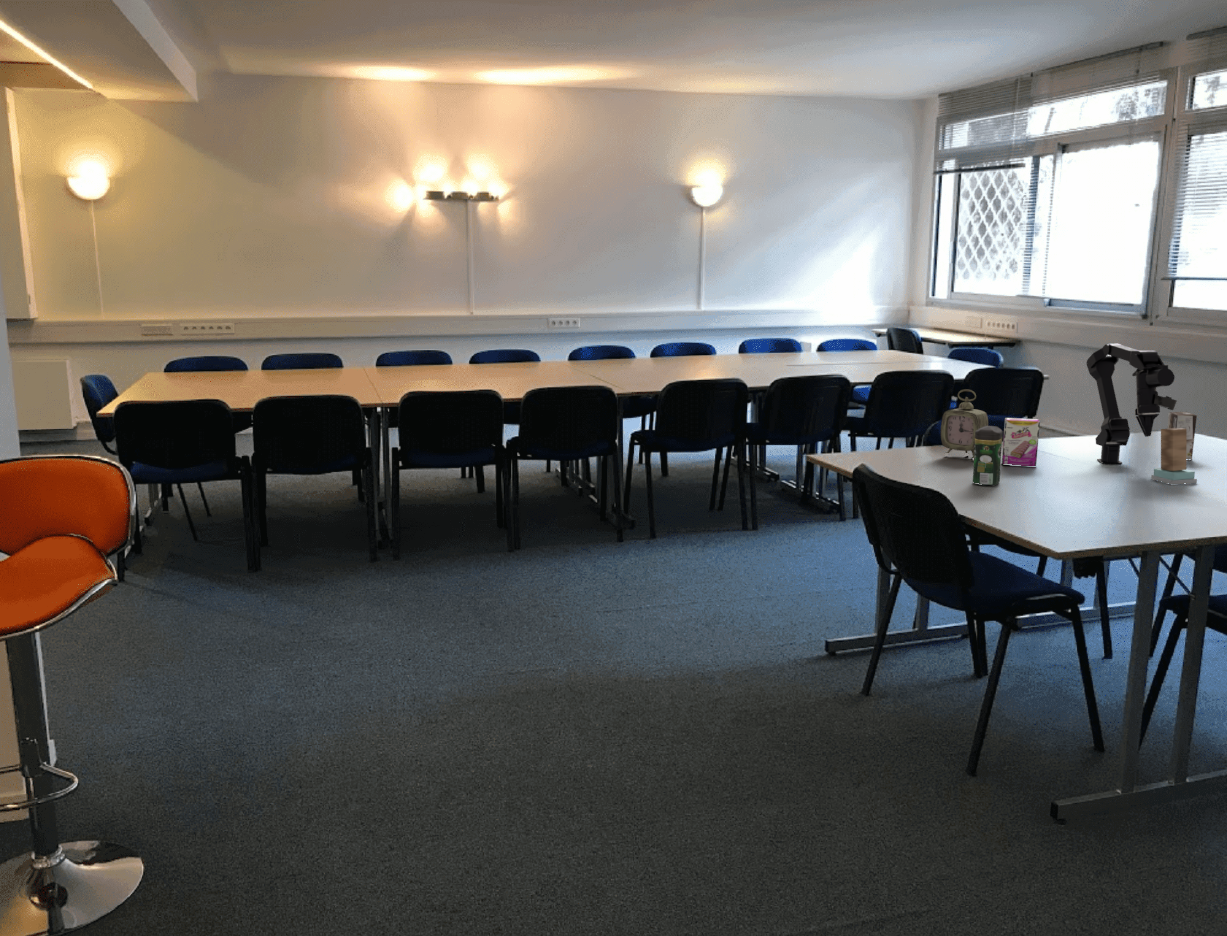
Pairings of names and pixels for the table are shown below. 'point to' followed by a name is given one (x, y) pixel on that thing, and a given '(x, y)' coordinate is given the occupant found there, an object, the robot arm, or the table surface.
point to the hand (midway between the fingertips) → (1147, 436)
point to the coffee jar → (987, 455)
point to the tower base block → (1173, 480)
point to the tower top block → (1174, 474)
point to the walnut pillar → (1173, 449)
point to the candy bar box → (1020, 441)
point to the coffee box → (1184, 427)
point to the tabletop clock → (962, 426)
